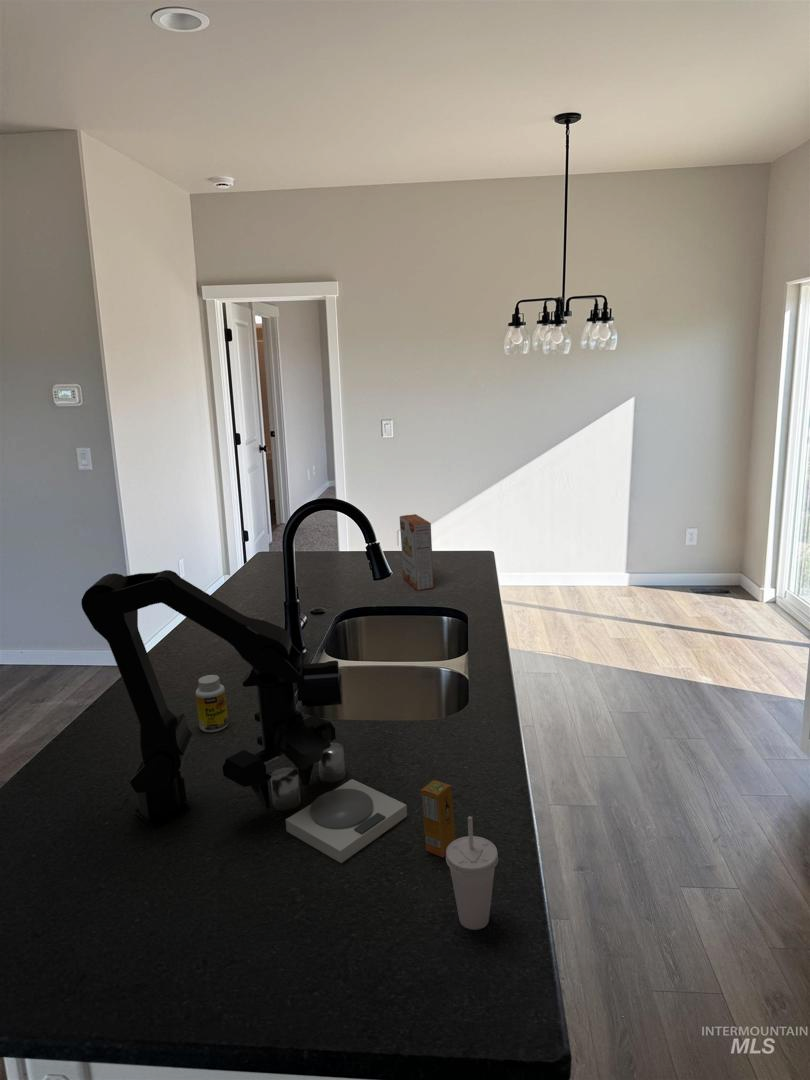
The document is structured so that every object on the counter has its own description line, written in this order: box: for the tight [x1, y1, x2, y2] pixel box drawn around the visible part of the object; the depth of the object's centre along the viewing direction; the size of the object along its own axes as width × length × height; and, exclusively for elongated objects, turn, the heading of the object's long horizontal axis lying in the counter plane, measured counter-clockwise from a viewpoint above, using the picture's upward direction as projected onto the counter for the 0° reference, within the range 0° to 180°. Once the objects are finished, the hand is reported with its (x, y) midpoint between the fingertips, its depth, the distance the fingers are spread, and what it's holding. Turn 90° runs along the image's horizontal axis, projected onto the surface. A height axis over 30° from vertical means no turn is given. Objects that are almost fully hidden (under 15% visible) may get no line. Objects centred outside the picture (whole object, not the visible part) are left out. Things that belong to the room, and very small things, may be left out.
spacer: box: [270, 767, 302, 811], centre depth 120 cm, size 4×4×5 cm
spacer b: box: [317, 742, 346, 784], centre depth 127 cm, size 4×4×5 cm
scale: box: [285, 778, 408, 864], centre depth 114 cm, size 14×12×3 cm
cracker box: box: [399, 513, 435, 591], centre depth 231 cm, size 14×6×21 cm, turn 17°
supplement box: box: [420, 779, 456, 859], centre depth 106 cm, size 3×3×10 cm
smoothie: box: [445, 815, 499, 931], centre depth 92 cm, size 6×6×14 cm
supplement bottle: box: [195, 674, 229, 733], centre depth 146 cm, size 6×6×10 cm
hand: (286, 796), depth 120 cm, fingers open, 8 cm apart
